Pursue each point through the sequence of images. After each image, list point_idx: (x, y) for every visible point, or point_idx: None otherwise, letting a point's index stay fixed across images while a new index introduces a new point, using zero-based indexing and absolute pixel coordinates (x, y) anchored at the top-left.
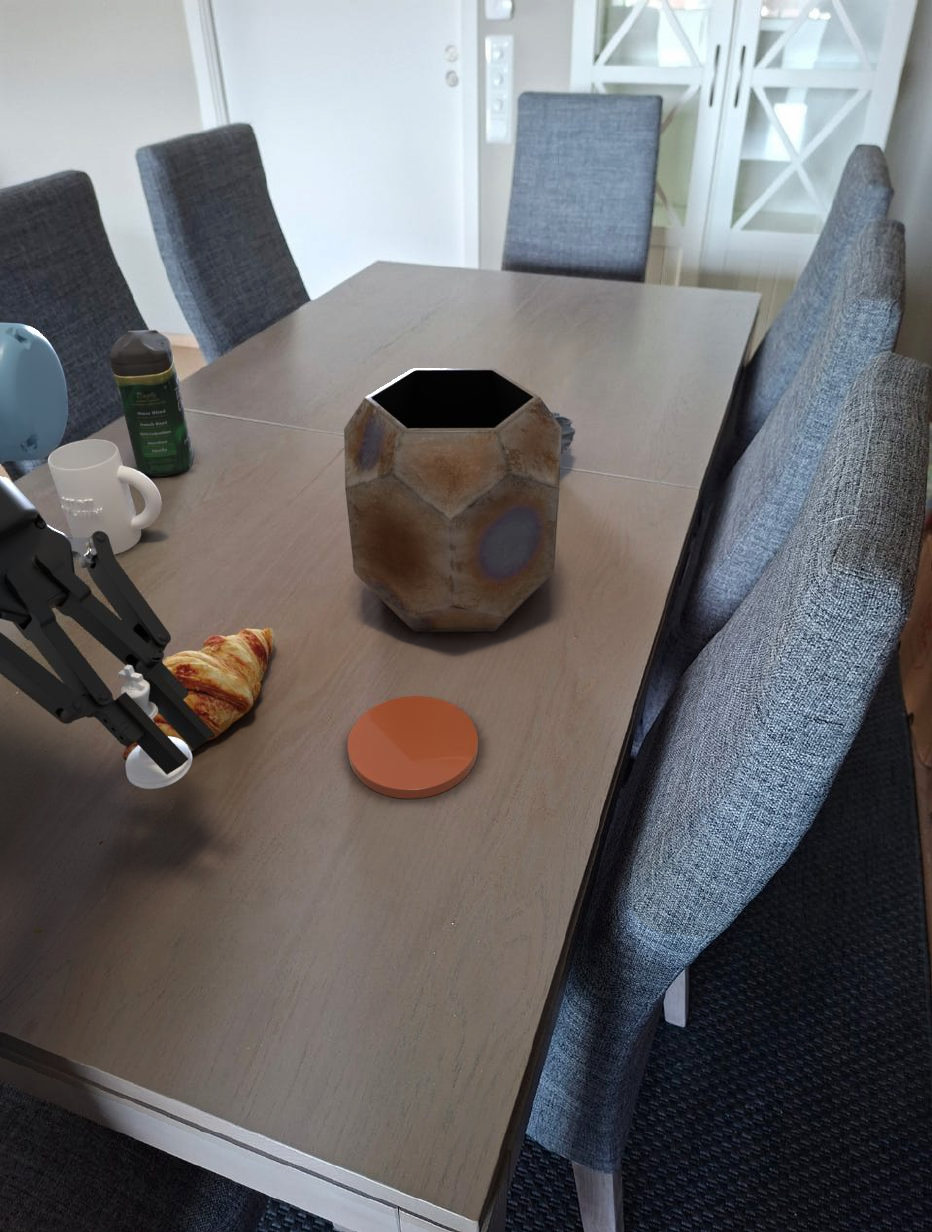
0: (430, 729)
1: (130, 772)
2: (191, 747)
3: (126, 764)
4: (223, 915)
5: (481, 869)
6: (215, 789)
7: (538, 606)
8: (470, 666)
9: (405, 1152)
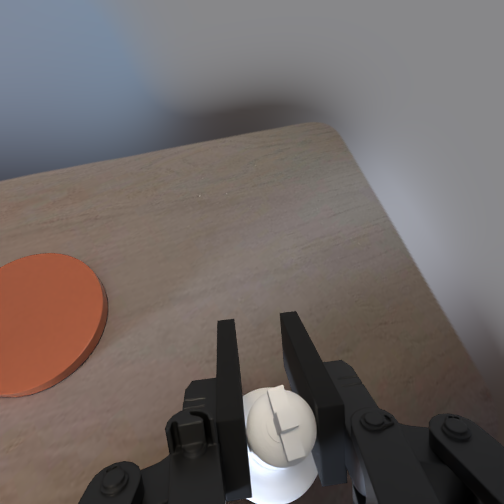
0: (5, 310)
1: None
2: (240, 374)
3: (312, 478)
4: None
5: (147, 203)
6: None
7: None
8: None
9: (333, 148)
